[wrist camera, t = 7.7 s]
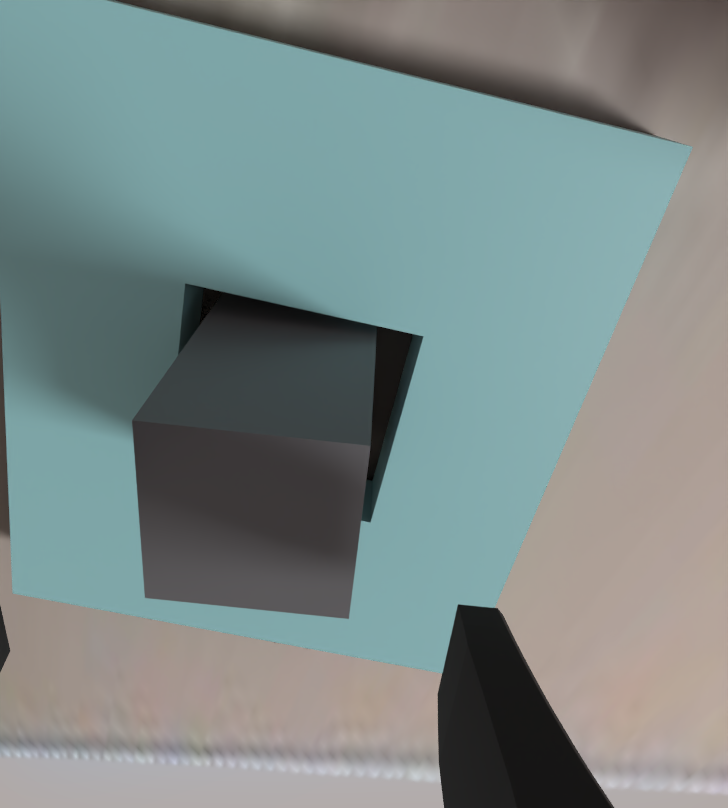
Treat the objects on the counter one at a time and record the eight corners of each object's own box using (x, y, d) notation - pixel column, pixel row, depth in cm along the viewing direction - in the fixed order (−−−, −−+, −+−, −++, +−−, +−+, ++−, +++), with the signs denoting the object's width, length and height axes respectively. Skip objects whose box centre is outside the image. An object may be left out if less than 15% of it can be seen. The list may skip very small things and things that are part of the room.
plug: (378, 306, 17) (370, 446, 11) (362, 436, 19) (349, 618, 13) (225, 288, 17) (132, 420, 11) (224, 421, 19) (144, 597, 13)
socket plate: (657, 136, 15) (692, 146, 13) (458, 628, 22) (464, 677, 21) (37, -19, 14) (-14, -30, 12) (43, 549, 21) (12, 593, 20)
